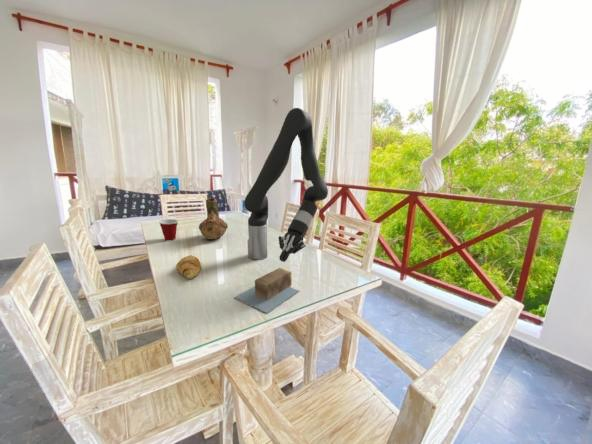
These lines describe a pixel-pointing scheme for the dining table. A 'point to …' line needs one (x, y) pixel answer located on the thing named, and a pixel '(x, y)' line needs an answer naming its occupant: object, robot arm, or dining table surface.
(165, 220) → the plastic cup
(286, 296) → the slate mat
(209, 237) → the ceramic vessel
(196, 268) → the croissant
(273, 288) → the walnut block
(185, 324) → the dining table surface
